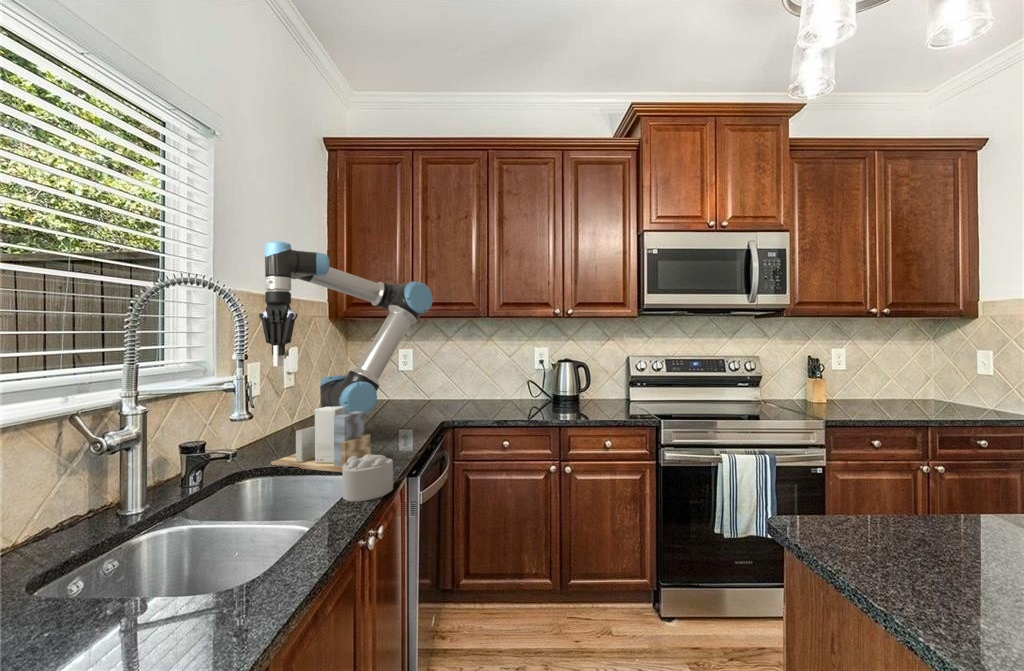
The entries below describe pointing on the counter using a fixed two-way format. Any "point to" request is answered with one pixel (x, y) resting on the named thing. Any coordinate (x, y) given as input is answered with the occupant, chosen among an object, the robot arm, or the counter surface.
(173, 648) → the counter surface
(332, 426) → the skincare box
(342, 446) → the book rack
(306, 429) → the grey rectangular slab
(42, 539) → the counter surface
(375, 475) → the lumpy-topped squat cylinder
